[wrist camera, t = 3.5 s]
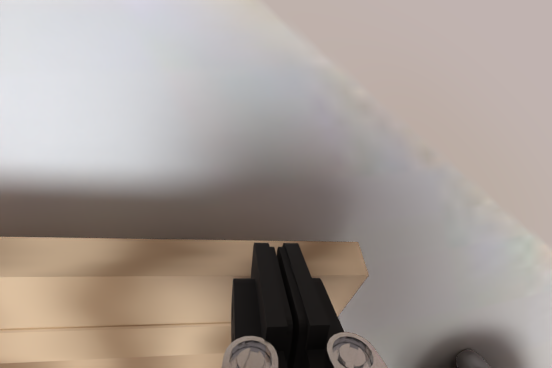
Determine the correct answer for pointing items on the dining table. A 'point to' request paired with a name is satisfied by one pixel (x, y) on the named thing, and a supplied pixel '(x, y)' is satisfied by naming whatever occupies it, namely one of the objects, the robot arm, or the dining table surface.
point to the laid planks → (131, 362)
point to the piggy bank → (470, 360)
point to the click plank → (138, 294)
